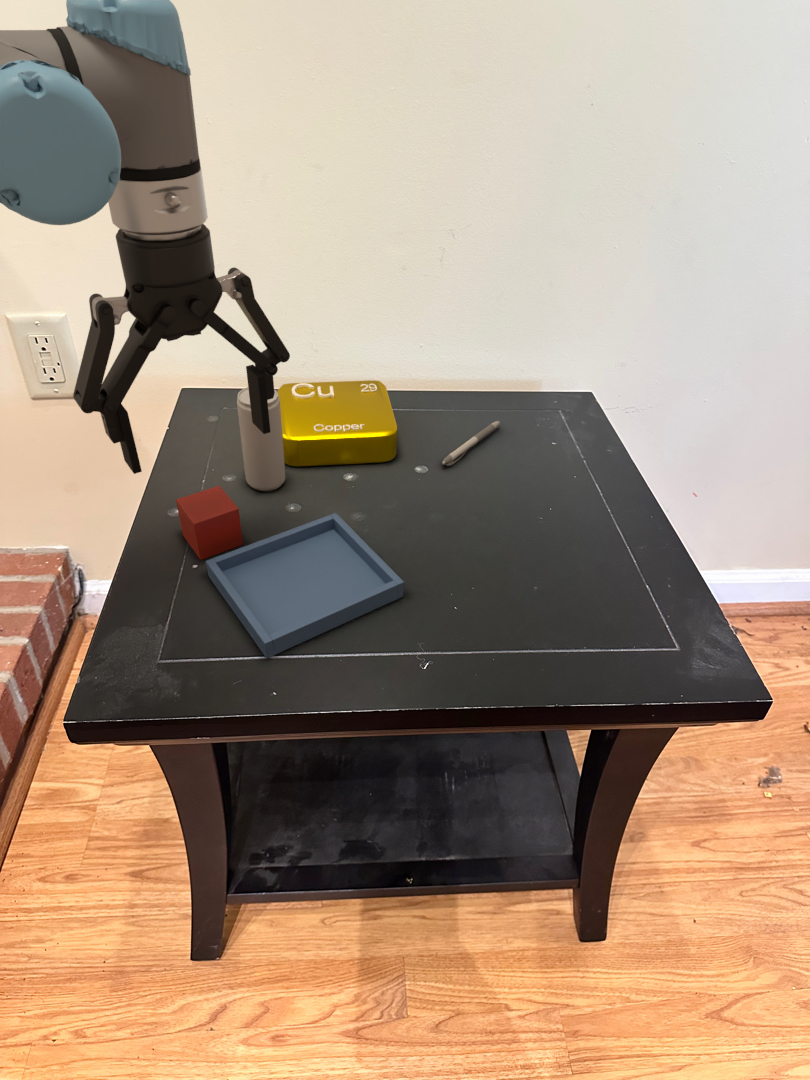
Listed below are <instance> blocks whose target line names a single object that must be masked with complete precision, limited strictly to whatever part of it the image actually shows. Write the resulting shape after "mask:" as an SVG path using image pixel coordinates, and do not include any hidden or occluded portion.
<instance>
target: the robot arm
mask: <svg viewBox="0 0 810 1080" xmlns="http://www.w3.org/2000/svg"><path fill="white" fill-rule="evenodd" d="M65 3H66V5H65V6H66V11H67V13H66V14H67V17H66V18H65V22H66V25H65V26H57V27H55V28H46V29H0V204H1V205H3V206H4V207H6V208H7V209H8V210H10V211H12V212H14V213H16V214H18V215H20V216H21V217H24V218H26V219H28V220H30V221H33V222H36V223H39V224H44V225H50V226H67V225H73V224H77V223H80V222H83V221H85V220H88V219H90V218H91V217H93V216H95V215H96V214H97V213H99V212H100V211H101V210H102V209H104V207H105V206H106V205H107V204H108V208H109V213H110V217H111V222H112V224H113V225H114V226H115V227H117V228H118V230H117V232H116V234H115V240H116V245H117V251H118V255H119V259H120V264H121V268H122V274H123V277H124V283H125V290H124V293H123V296H110V297H104V296H103V295H102V294H100V293H93V294H90V296H89V301H88V303H89V310H90V311H89V312H90V319H91V322H90V326H89V329H88V333H87V338H86V341H85V345H84V350H83V353H82V358H81V362H80V365H79V370H78V373H77V378H76V382H75V386H74V390H73V393H72V397H73V400H74V401H75V403H76V404H77V405H78V407H79V409H80V410H81V411H82V412H83V413H84V414H92V413H93V412H95V413H96V412H97V413H100V417H101V419H102V424H103V427H104V431H105V434H106V436H107V437H108V439H109V440H110V441H111V442H112V443H113V444H117V443H119V444H120V448H121V452H122V455H123V456H122V457H123V461H124V462H125V464H126V465H127V466H128V467H129V469H130V471H131V472H132V473H133V474H134V475H136V474H139V473H142V467H141V462H140V459H139V454H138V450H137V445H136V442H135V441H136V440H135V437H134V433H133V428H132V425H131V420H130V416H129V412H128V411H127V409H126V408H125V407H124V405H123V404H122V403H123V401H124V399H125V397H126V396H127V394H128V393H129V391H130V389H131V387H132V385H133V383H134V382H135V380H136V378H137V377H138V375H139V373H140V371H141V369H142V368H143V366H144V364H145V362H146V361H147V359H148V357H149V355H150V354H151V352H154V351H155V350H156V349H157V347H158V345H159V344H160V342H161V340H166V341H167V342H172V341H176V340H179V339H180V338H182V337H184V336H190V337H192V336H193V337H194V336H198V335H202V331H204V330H205V329H206V328H207V326H209V327H210V328H211V329H212V330H214V331H215V332H216V333H217V334H218V335H219V336H221V337H222V338H223V339H224V340H226V341H227V342H228V343H229V344H231V345H232V346H233V348H235V349H237V350H238V351H239V352H241V354H242V355H244V357H246V358H247V359H248V360H250V361H251V362H252V363H253V364H249V365H246V366H245V370H246V378H247V387H248V388H249V397H250V405H251V414H252V423H253V424H254V425H255V426H256V427H257V428H258V429H259V430H260V431H261V432H262V433H263V434H266V433H270V422H269V412H268V401H267V400H269V399H272V398H273V397H274V394H275V393H274V389H275V385H274V384H275V383H274V376H275V375H276V374H277V373H278V370H279V369H278V366H277V365H279V364H280V363H287V362H288V361H289V360H290V358H291V354H290V352H289V350H288V349H287V347H286V346H285V344H284V342H283V340H282V339H281V337H280V336H279V334H278V333H277V331H276V329H275V328H274V326H273V325H272V323H271V322H270V320H269V318H268V317H267V316H266V313H265V312H264V311H263V309H262V307H261V306H260V304H259V302H258V301H257V299H256V298H255V293H254V289H253V283H252V280H251V277H249V275H247V274H246V273H245V272H243V271H241V270H240V269H239V268H237V267H231V268H229V270H227V274H224V275H222V276H219V277H217V276H216V272H215V271H216V270H215V267H216V266H215V260H214V252H213V246H212V238H211V237H212V236H211V231H210V229H209V228H208V227H207V226H206V225H205V223H206V222H207V220H208V208H207V201H206V195H205V186H204V180H203V172H202V171H203V170H202V167H201V166H202V165H201V160H200V154H199V145H198V138H197V136H198V135H197V128H196V120H195V111H194V102H193V101H194V100H193V93H192V84H191V83H192V82H191V77H190V76H192V73H191V72H192V71H191V68H190V66H189V60H188V55H187V49H186V44H185V39H184V38H185V37H184V33H183V29H182V26H181V21H180V16H179V12H178V10H177V8H176V5H175V4H174V3H173V2H172V1H171V0H66V1H65ZM223 293H225V294H226V295H227V296H228V297H229V298H231V299H232V300H234V301H235V302H236V304H237V305H238V306H239V308H240V310H241V311H242V313H243V314H244V316H245V317H246V319H247V320H248V322H249V324H250V325H251V327H252V328H253V330H254V331H255V333H256V334H257V335H258V338H259V339H260V340H261V342H262V343H263V345H264V347H265V349H264V350H263V351H260V350H259V349H258V348H257V347H256V346H254V345H253V344H252V343H251V342H250V341H248V340H247V339H246V338H245V337H244V336H243V335H242V334H240V333H239V332H238V331H237V330H235V329H234V328H233V327H232V326H231V325H230V324H228V323H227V322H226V321H225V320H224V319H223V318H221V316H219V315H218V314H217V313H216V312H215V311H216V308H217V307H218V304H219V302H220V300H221V298H222V296H223ZM127 312H128V313H129V314H131V315H132V316H133V317H134V318H135V319H134V320H133V322H132V324H131V326H130V327H129V330H128V337H127V339H126V340H125V341H124V344H123V346H122V347H121V349H120V351H119V353H118V355H117V356H116V358H115V359H114V362H113V363H112V365H111V367H110V368H109V371H108V372H107V374H106V370H107V365H108V362H109V360H110V359H109V358H110V354H111V352H112V351H111V350H112V347H113V343H114V340H115V334H116V326H117V325H120V324H121V321H122V318H123V315H124V314H126V313H127ZM105 374H106V376H105ZM104 377H105V378H104Z"/></svg>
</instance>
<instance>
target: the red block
mask: <svg viewBox="0 0 810 1080" xmlns="http://www.w3.org/2000/svg"><path fill="white" fill-rule="evenodd" d="M175 502H176V507H177V512H178V518H179V523H180V528H181V533H182V536H183V538H184V539H185V540H186V542H187V543H188V545H189V546H190V547H191V549H192V550H193V552H194V554H195V555H196V556H197V558H198V559H199V560H200V561H202V560H205V559H209V558H211V557H213V556H216V555H219V554H221V553H224V552H227V551H229V550H232V549H235V548H237V547H240V546H243V545H244V540H243V531H242V524H241V518H240V517H241V516H240V508H238V506H237V505H236V503H234V501H233V500H232V498H230V496H228V494H227V493H226V492H225V491H224V489H223V488H222V486H221V485H216V486H214V487H210V488H208V489H204V490H201V491H198V492H195V493H192V494H189V495H185V496H183V497H179V498H177V499H175Z"/></svg>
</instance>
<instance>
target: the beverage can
mask: <svg viewBox="0 0 810 1080" xmlns="http://www.w3.org/2000/svg"><path fill="white" fill-rule="evenodd" d="M274 393H275V394H274V397H273V398H272V399H269V400H267V401H268V412H269V422H270V433H266V434H263V433H262V432H261V431H260V430H259V429H258V428H257V427H256V426H255V425H254V424H253V423H252V414H251V405H250V397H249V388H248V386H247V387H244V388H242V389H241V390H240V391H239V392H238V393H237V397H236V398H237V399H236V407H237V416H238V424H239V425H238V426H239V433H240V442H241V450H242V458H243V468H244V475H245V476H244V477H245V481H246V483H247V484H248V486H250V487H251V488H252V489H254V490H256V491H260V492H271V491H274V490H277V489H278V488H280V487H281V486H282V485H283V484H284V482H285V480H286V463H285V462H284V450H283V437H282V424H281V410H280V399H279V397H278V390H276V389H275V388H274Z"/></svg>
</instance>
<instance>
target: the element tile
mask: <svg viewBox="0 0 810 1080" xmlns="http://www.w3.org/2000/svg"><path fill="white" fill-rule="evenodd" d="M388 392H389V391H388V389H387V386H386V384H384V383H383V382H382V381H380V380H371V379H370V380H369V379H368V380H367V379H366V380H348V381H347V380H343V381H313V382H290V383H283V384H282V385H281V386H279V388H278V389H277V393H278V397H279V399H280V410H281V424H282V437H283V450H284V464H285V465H287V466H290V467H298V468H302V467H317V466H318V467H319V466H320V467H321V466H339V465H358V464H377V463H386V462H389V461H392V460H393V459H394V458H395V457H396V455H397V451H398V424H397V421H396V417H395V413H394V410H393V407H392V404H391V400H390V396H389V393H388Z"/></svg>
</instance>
